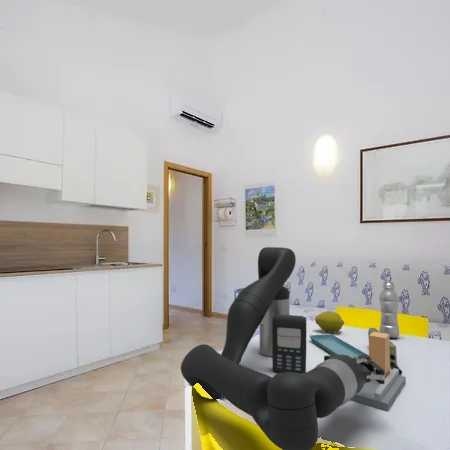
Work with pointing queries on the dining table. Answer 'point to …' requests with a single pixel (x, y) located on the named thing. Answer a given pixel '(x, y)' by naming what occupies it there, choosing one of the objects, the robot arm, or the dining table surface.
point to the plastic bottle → (389, 310)
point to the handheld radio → (392, 352)
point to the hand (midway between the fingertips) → (366, 359)
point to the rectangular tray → (335, 345)
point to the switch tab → (380, 350)
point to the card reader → (289, 343)
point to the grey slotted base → (381, 391)
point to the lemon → (329, 321)
